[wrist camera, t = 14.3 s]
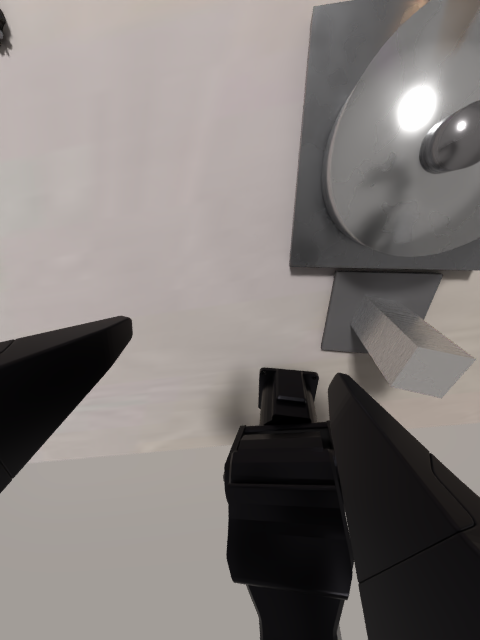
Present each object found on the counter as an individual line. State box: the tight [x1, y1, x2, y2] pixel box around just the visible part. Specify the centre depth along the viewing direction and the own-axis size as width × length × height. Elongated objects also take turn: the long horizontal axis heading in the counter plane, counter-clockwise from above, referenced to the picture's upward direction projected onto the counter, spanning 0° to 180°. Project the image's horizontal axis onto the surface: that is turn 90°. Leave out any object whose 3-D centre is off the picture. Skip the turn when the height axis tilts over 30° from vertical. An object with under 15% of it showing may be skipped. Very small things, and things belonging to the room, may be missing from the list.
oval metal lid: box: [321, 0, 480, 257], centre depth 10 cm, size 16×11×4 cm
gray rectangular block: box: [350, 295, 476, 398], centre depth 15 cm, size 3×3×8 cm
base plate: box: [289, 0, 480, 270], centre depth 14 cm, size 14×14×1 cm
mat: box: [321, 271, 443, 353], centre depth 19 cm, size 8×8×1 cm
